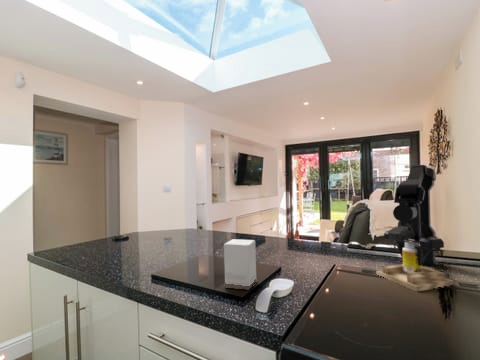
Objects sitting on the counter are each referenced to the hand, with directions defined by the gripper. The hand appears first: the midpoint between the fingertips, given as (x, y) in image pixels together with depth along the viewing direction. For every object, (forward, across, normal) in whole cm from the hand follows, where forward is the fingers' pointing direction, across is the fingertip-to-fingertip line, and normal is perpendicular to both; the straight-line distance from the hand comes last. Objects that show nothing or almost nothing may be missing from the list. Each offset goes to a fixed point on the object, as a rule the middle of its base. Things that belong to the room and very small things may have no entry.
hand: (412, 262), depth 90 cm
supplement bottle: (+3, 0, 0) cm, 3 cm away
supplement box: (+6, -15, -59) cm, 61 cm away
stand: (+6, 0, 0) cm, 6 cm away
